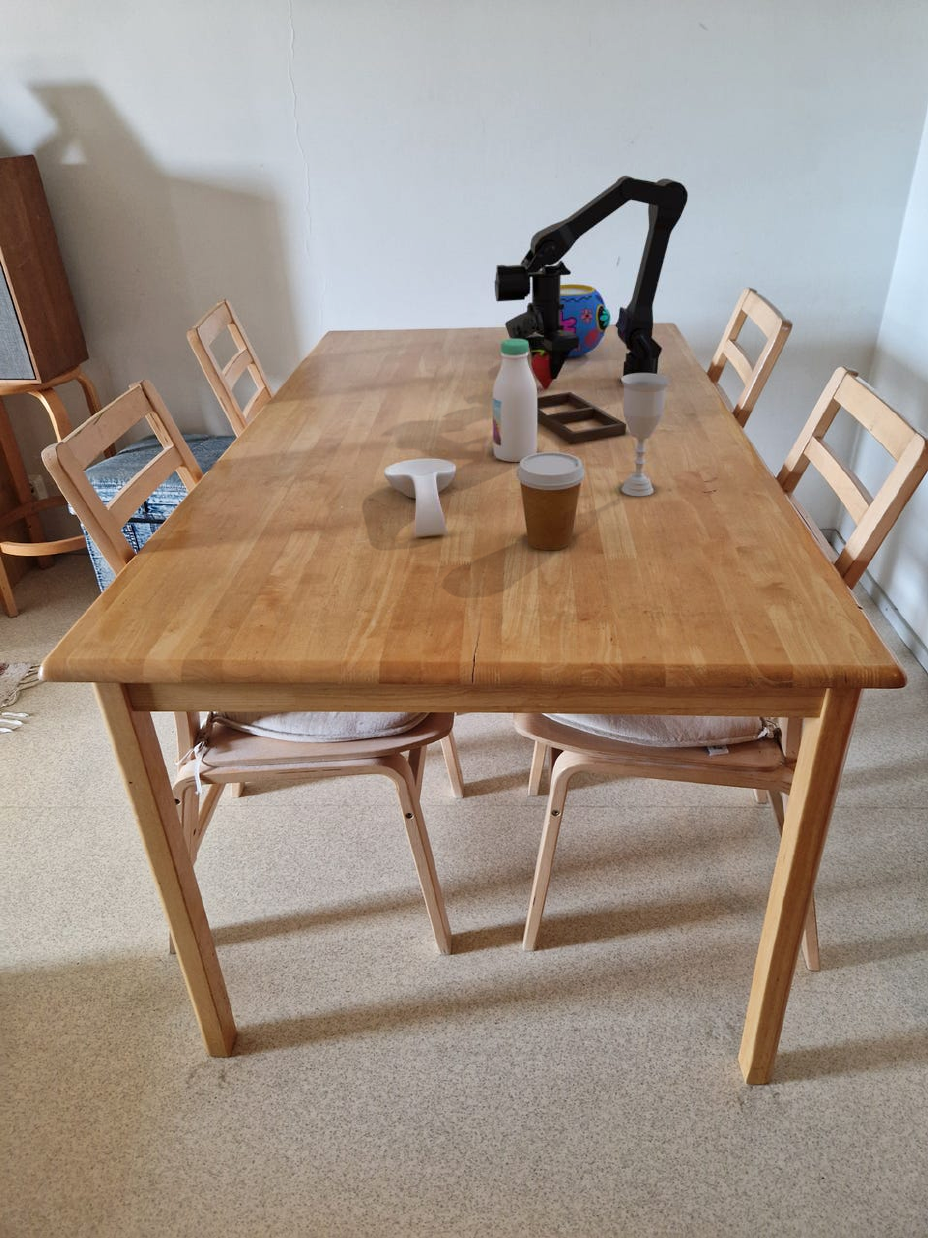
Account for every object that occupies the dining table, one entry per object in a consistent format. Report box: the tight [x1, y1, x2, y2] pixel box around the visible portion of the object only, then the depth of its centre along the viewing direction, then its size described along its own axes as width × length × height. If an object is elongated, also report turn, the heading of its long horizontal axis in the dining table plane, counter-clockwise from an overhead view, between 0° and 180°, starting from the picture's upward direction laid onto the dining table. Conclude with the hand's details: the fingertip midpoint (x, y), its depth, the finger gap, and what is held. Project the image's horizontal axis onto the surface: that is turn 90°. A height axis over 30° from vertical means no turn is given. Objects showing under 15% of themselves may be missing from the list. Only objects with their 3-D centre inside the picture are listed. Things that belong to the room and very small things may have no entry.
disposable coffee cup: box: [516, 451, 586, 551], centre depth 127 cm, size 10×10×12 cm
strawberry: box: [530, 341, 554, 390], centre depth 189 cm, size 6×8×10 cm
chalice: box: [620, 373, 671, 497], centre depth 140 cm, size 7×7×18 cm
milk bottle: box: [492, 338, 538, 463], centre depth 154 cm, size 8×8×20 cm
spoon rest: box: [383, 458, 457, 537], centre depth 140 cm, size 24×12×7 cm, turn 8°
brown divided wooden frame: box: [537, 391, 627, 445], centre depth 173 cm, size 11×22×2 cm, turn 22°
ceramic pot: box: [558, 283, 611, 358], centre depth 210 cm, size 18×18×15 cm
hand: (545, 374), depth 190 cm, fingers closed on strawberry, 7 cm apart
